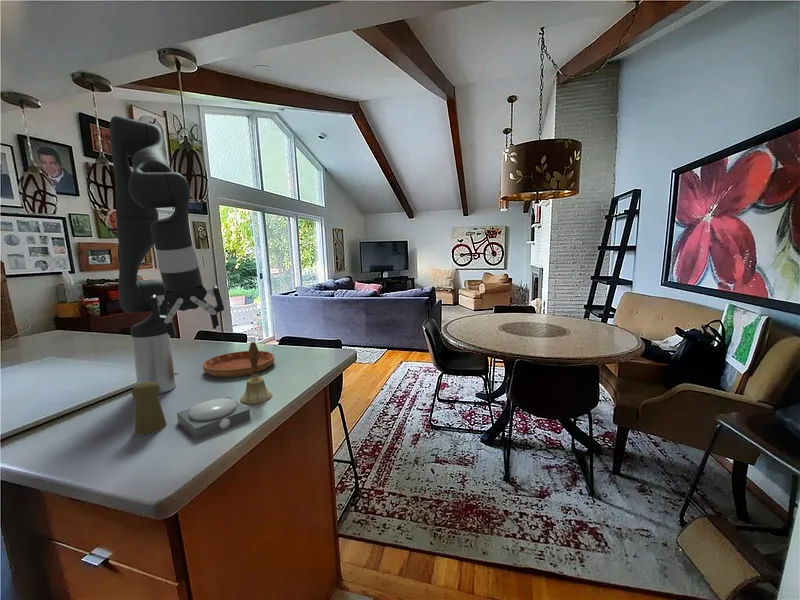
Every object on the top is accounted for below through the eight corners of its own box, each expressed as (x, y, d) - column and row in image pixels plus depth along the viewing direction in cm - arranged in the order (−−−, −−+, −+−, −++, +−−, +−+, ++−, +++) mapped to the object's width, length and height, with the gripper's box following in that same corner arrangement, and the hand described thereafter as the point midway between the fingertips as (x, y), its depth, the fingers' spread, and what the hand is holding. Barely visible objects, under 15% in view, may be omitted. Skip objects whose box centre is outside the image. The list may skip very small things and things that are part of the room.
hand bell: (274, 391, 102) (270, 338, 99) (269, 403, 93) (264, 345, 91) (244, 393, 100) (240, 339, 98) (236, 406, 92) (231, 347, 90)
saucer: (252, 355, 139) (251, 346, 139) (287, 365, 126) (287, 355, 125) (191, 372, 121) (190, 362, 120) (225, 385, 107) (224, 374, 107)
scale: (178, 422, 83) (176, 408, 83) (229, 405, 92) (228, 393, 92) (197, 439, 75) (195, 424, 75) (251, 419, 84) (250, 405, 84)
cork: (142, 437, 77) (135, 390, 75) (130, 430, 80) (123, 385, 79) (171, 425, 82) (166, 381, 80) (159, 419, 85) (153, 376, 84)
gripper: (213, 259, 84) (225, 320, 90) (142, 267, 78) (160, 332, 83) (215, 266, 78) (228, 331, 84) (139, 275, 72) (159, 345, 77)
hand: (195, 331), depth 84 cm, fingers open, 8 cm apart
